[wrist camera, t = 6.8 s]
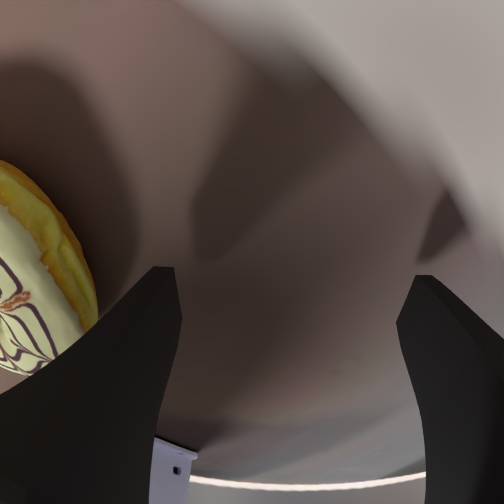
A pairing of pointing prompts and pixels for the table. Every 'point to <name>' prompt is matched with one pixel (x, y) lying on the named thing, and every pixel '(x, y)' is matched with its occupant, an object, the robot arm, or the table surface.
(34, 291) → the decorated donut
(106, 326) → the robot arm
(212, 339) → the table surface
